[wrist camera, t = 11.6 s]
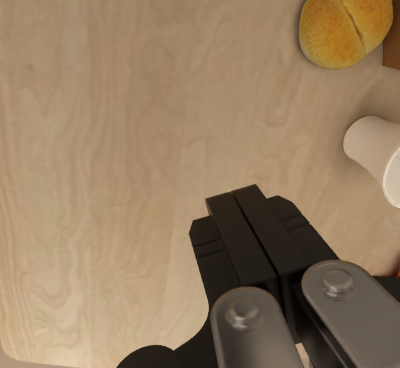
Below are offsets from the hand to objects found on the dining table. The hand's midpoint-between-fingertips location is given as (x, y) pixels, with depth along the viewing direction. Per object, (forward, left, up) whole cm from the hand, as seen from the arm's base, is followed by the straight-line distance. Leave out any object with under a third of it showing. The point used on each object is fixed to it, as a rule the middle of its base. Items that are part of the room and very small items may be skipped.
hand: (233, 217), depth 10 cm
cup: (+25, +7, -27) cm, 37 cm away
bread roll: (+13, +14, -27) cm, 33 cm away
